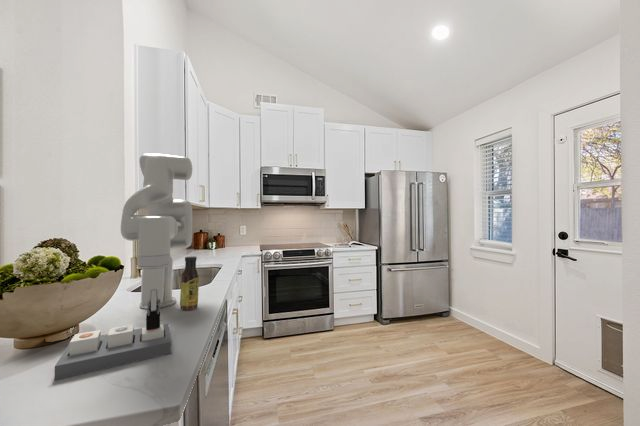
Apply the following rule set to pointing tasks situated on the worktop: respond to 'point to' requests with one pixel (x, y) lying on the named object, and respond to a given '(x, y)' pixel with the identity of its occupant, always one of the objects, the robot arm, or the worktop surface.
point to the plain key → (120, 336)
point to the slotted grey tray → (112, 354)
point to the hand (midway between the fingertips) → (153, 327)
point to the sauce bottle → (189, 285)
